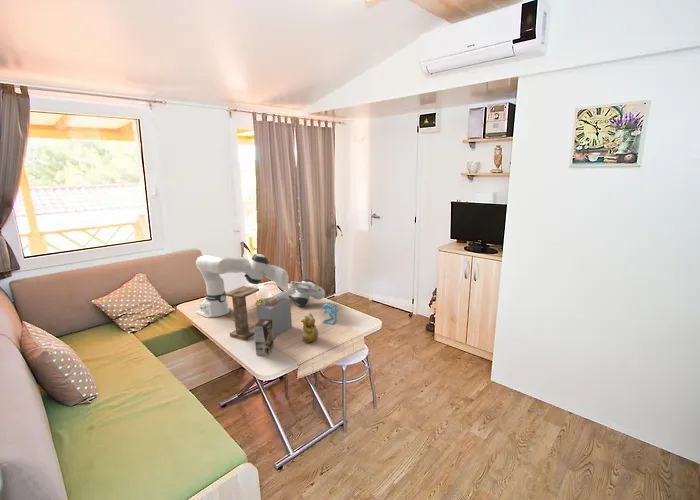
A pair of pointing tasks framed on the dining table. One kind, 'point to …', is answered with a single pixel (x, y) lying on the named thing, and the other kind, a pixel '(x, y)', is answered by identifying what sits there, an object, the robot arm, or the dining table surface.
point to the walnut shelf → (241, 312)
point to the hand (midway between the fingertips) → (298, 283)
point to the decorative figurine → (309, 329)
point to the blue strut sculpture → (330, 312)
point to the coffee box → (264, 337)
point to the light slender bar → (279, 296)
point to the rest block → (277, 315)
